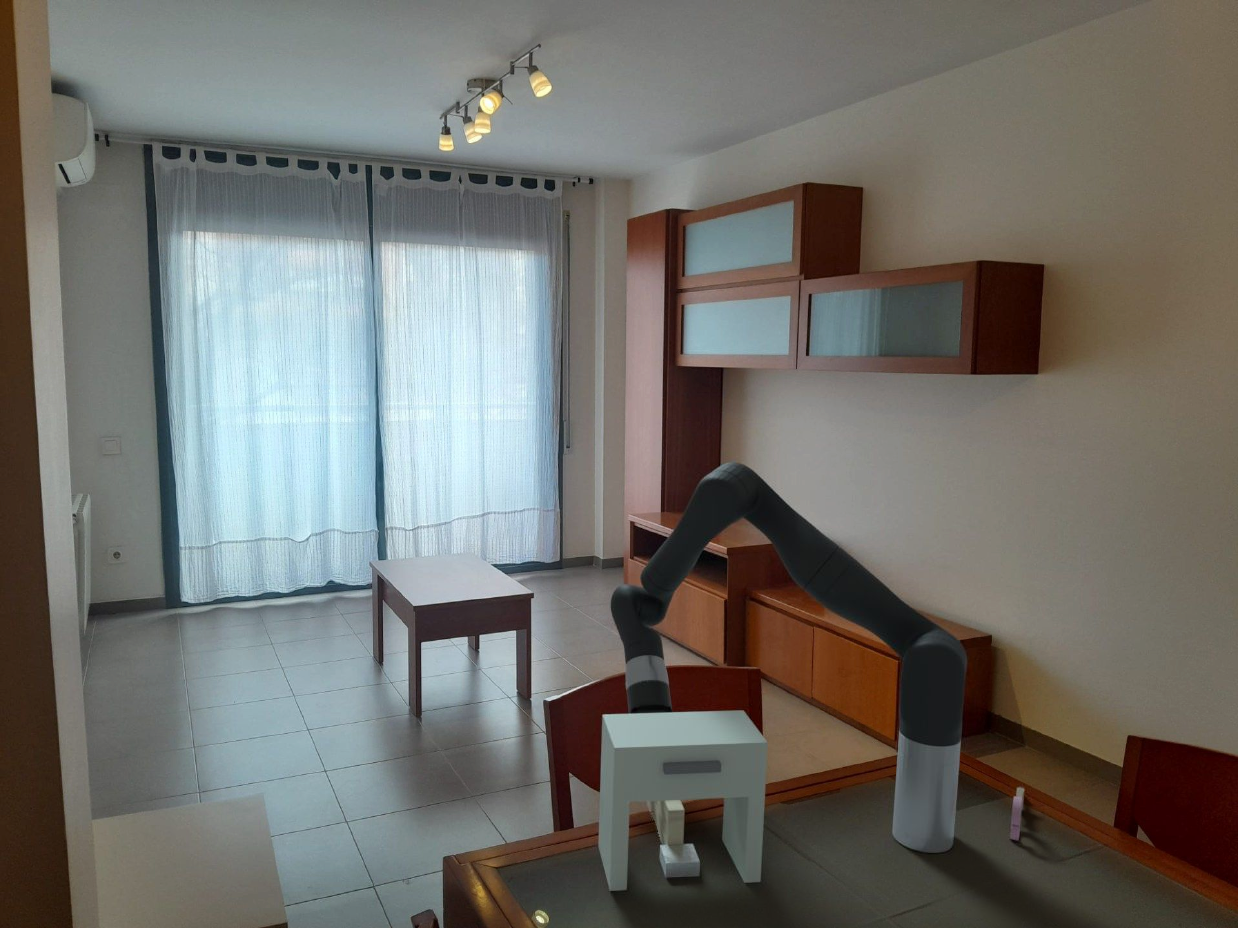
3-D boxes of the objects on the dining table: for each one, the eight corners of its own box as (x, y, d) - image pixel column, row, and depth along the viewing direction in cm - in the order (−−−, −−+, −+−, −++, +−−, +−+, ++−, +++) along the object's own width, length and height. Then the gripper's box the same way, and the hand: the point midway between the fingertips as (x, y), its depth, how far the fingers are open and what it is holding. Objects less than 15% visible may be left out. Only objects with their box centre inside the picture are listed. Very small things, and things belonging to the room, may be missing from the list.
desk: (598, 846, 141) (602, 714, 138) (737, 838, 144) (743, 710, 142) (611, 895, 128) (615, 751, 125) (763, 886, 131) (770, 745, 129)
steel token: (659, 859, 138) (660, 844, 138) (692, 858, 139) (692, 843, 138) (665, 878, 133) (666, 863, 133) (699, 877, 134) (699, 861, 133)
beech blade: (641, 790, 160) (643, 748, 159) (655, 789, 160) (656, 748, 159) (667, 857, 138) (668, 810, 137) (682, 857, 138) (684, 809, 138)
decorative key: (1023, 812, 162) (1017, 845, 145) (1016, 810, 163) (1009, 842, 145) (1026, 773, 163) (1021, 801, 145) (1019, 772, 163) (1013, 799, 145)
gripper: (611, 679, 158) (619, 779, 147) (690, 677, 160) (704, 775, 149) (606, 697, 164) (613, 794, 153) (682, 695, 166) (695, 791, 155)
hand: (658, 784), depth 151 cm, fingers closed on beech blade, 2 cm apart
